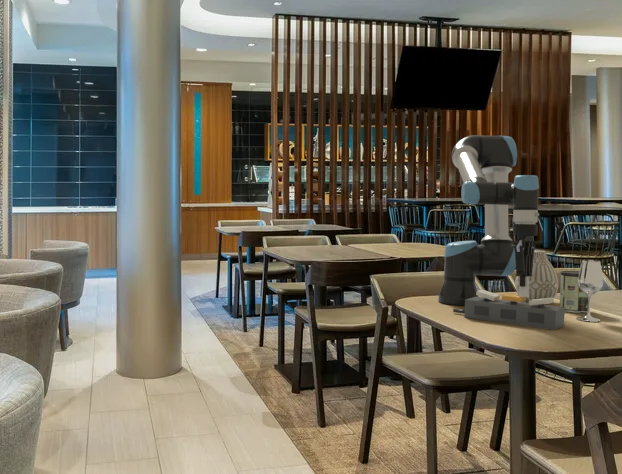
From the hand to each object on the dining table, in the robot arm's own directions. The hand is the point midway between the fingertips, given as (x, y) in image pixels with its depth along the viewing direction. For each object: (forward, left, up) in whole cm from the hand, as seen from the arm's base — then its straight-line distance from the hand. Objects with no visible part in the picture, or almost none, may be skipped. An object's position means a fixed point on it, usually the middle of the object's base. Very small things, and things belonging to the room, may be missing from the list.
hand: (523, 296), depth 218 cm
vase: (-11, +45, -9) cm, 48 cm away
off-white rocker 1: (-12, 0, -1) cm, 12 cm away
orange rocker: (-3, 0, -1) cm, 4 cm away
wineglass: (+15, +21, -9) cm, 27 cm away
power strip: (-6, 0, -9) cm, 11 cm away
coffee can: (+6, +36, -9) cm, 38 cm away
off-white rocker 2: (+6, 0, -1) cm, 6 cm away
